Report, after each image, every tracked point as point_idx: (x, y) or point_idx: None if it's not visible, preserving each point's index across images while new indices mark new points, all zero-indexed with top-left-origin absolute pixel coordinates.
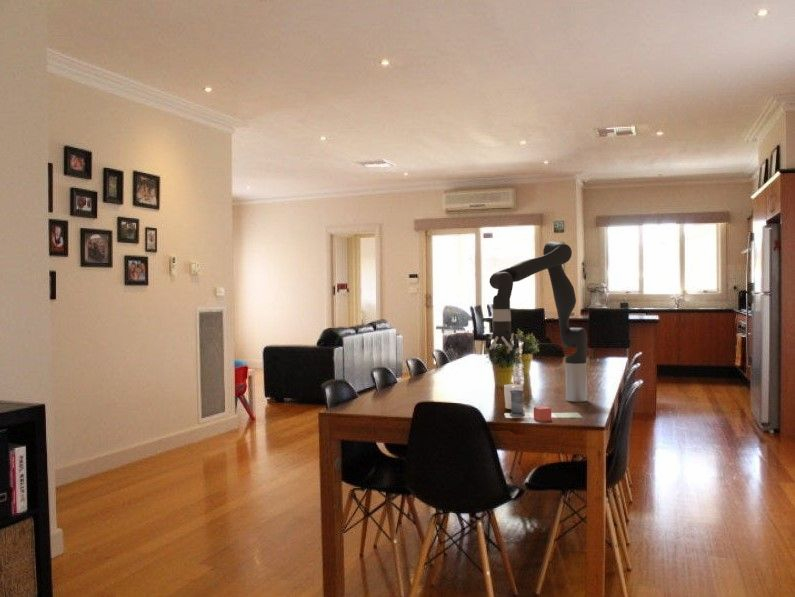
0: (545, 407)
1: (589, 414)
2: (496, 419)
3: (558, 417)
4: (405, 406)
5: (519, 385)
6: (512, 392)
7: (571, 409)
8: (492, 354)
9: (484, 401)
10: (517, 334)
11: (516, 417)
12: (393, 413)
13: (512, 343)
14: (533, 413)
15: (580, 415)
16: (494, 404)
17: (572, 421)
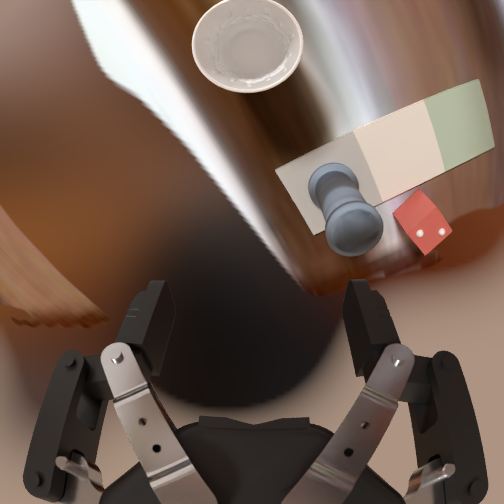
0: (439, 234)
1: (498, 83)
2: (292, 251)
3: (448, 169)
4: (4, 217)
5: (265, 2)
6: (343, 253)
7: (441, 7)
8: (167, 339)
9: (80, 4)
10: (480, 499)
11: None
12: (54, 289)
13: (396, 408)
14: (371, 133)
15: (489, 121)
16: (138, 20)
17: (476, 192)
